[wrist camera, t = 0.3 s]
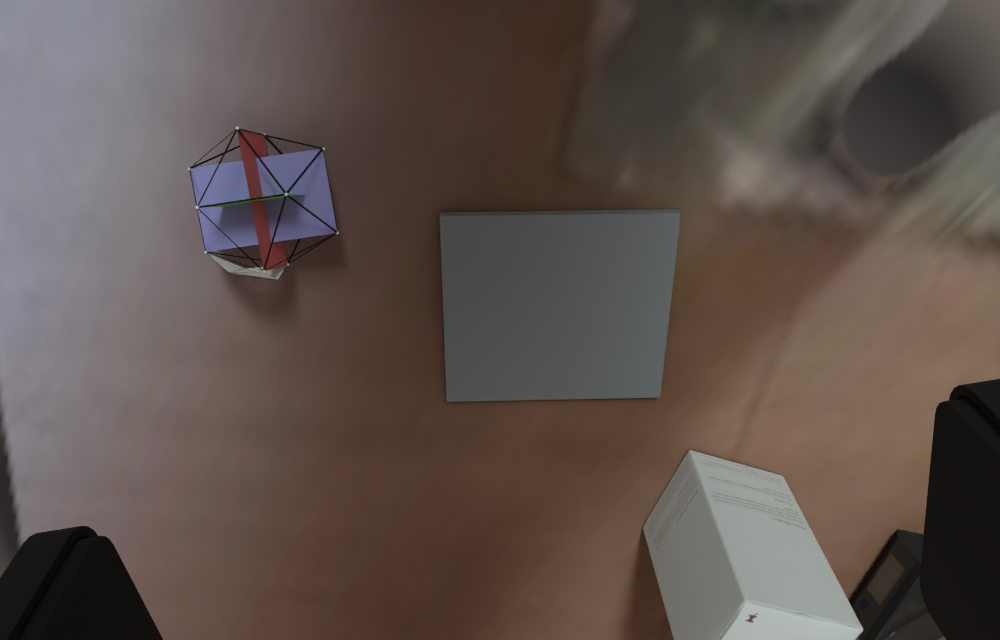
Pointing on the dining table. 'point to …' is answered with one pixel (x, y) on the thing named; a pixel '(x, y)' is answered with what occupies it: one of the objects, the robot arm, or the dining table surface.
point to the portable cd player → (895, 594)
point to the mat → (556, 303)
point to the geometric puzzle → (262, 203)
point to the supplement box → (741, 558)
